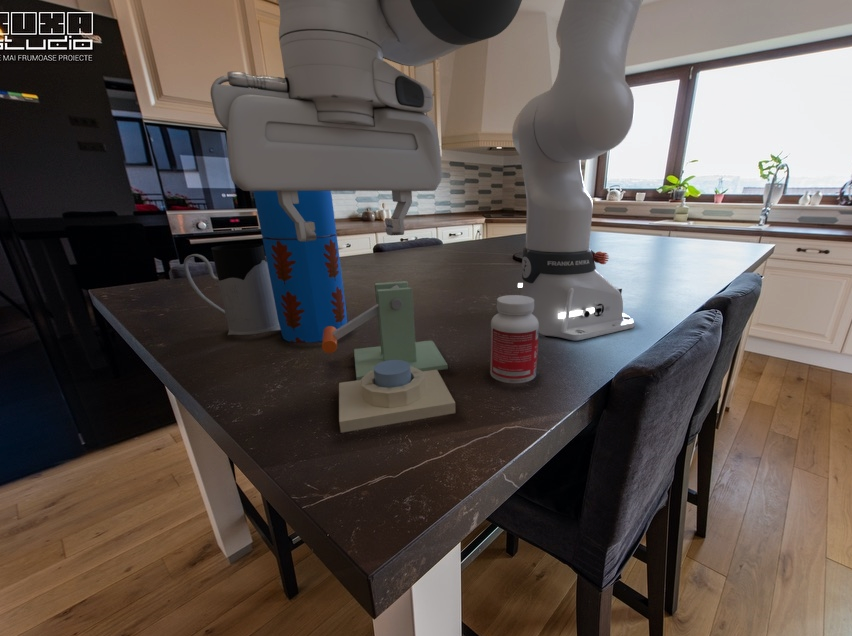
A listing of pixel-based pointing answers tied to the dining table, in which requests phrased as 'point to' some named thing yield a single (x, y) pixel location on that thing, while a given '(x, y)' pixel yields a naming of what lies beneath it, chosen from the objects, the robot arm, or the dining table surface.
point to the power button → (392, 373)
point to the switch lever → (346, 328)
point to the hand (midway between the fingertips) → (353, 237)
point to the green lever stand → (397, 334)
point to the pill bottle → (514, 340)
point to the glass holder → (242, 288)
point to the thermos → (303, 266)
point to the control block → (392, 401)
